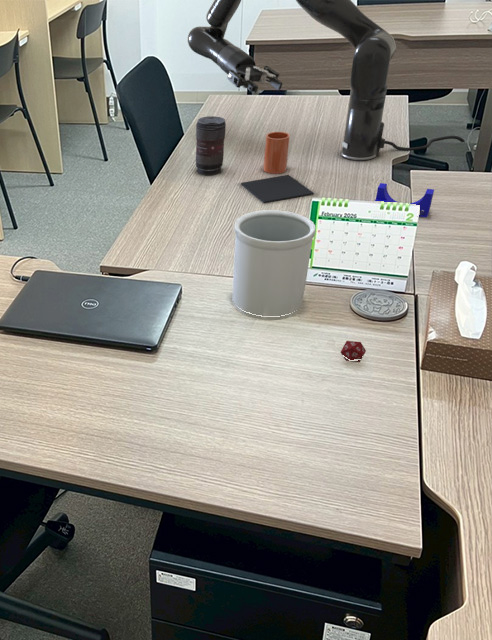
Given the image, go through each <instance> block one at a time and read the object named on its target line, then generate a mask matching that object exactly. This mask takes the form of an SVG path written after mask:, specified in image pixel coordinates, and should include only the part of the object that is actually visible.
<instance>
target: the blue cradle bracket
mask: <svg viewBox="0 0 492 640" xmlns="http://www.w3.org/2000/svg"><path fill="white" fill-rule="evenodd" d="M434 192H435V189H432V188H426V190H425V192H424V195H423V196H422V197H420V199H419V200H416V201H414V202H411V203H410V204H416V205H420V215H419V217H418V218H425V219H426V218H428V216H429V214H430V210H431V206H432V202H433V197H434ZM374 201H384V202H398V201H396V200H395V199H393V198H392V196H391V195H390V193H389V191H388V184H387V183H384V182H379V184H378V187H377V190H376V195H375V199H374Z"/></svg>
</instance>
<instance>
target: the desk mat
mask: <svg viewBox="0 0 492 640" xmlns="http://www.w3.org/2000/svg"><path fill="white" fill-rule="evenodd" d="M240 185H241V186H243V188H245V189H246V190H247V191H248V192H250V193H251V194H252V195H253V196H255V197H256V198H257V199H258V200H259V201H261V203H263V204H268V203H273V202H280V201H284V200H290V199H296V198H302V197H307V196H313V195H314V194H315V192H313V191H312V190H311V189H309V188H307V187H306V186H305V185H303V184H302V183H300V182H299V181H298V180H297V179H295V178H294V177H293V176H291V175H289V174H284V175H279V176H273V177H268V178H262V179H255V180H251V181H244V182H241V183H240Z"/></svg>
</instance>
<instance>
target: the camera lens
mask: <svg viewBox="0 0 492 640" xmlns="http://www.w3.org/2000/svg"><path fill="white" fill-rule="evenodd" d="M195 126H196V128H195V140H196V145H195V146H196V147H195V167H196V170H197V173H198V174H200V175H203V176H213V175H217V174H219V173H220V172H221V171H222V167H223V165H224V154H225V152H224V151H225V150H224V149H225V147H224V146H225V139H226V128H227V127H226V126H227V123H226V119H225V118H224V117H221V116H213V115H211V116H210V115H209V116H203V117H199V118H198V119H197V122H196V125H195Z"/></svg>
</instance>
